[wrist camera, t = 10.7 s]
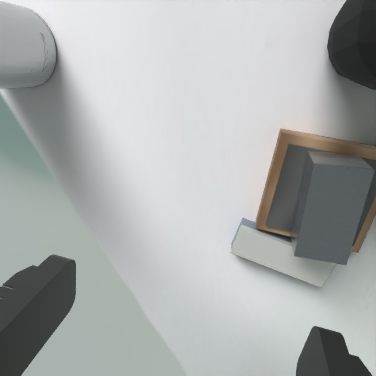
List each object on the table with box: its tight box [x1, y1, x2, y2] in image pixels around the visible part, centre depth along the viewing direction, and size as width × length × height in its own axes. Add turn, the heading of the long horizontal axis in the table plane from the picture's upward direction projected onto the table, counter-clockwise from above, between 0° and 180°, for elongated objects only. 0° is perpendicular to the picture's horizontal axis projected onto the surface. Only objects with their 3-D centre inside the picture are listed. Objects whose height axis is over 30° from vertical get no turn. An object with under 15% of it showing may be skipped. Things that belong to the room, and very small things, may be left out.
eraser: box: [230, 218, 336, 288], centre depth 39 cm, size 12×4×3 cm, turn 72°
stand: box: [256, 129, 376, 253], centre depth 34 cm, size 12×12×3 cm
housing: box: [290, 150, 375, 265], centre depth 31 cm, size 10×5×5 cm, turn 175°
